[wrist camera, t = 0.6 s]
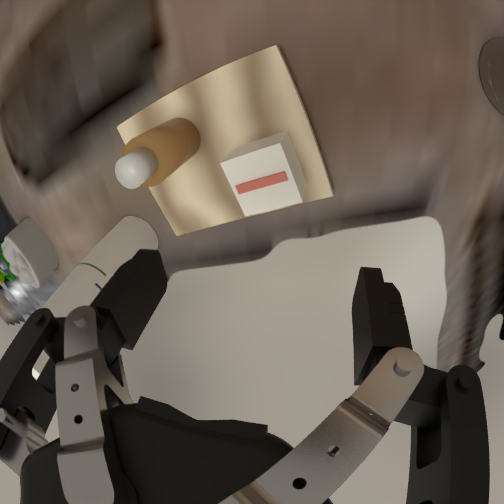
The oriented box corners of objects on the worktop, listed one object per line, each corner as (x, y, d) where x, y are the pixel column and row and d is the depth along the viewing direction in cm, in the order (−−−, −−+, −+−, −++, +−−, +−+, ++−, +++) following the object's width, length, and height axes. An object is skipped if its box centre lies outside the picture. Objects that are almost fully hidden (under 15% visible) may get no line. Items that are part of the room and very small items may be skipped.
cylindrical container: (139, 261, 44) (51, 391, 24) (111, 227, 41) (6, 351, 21) (167, 246, 40) (68, 397, 21) (136, 207, 37) (14, 349, 18)
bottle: (188, 110, 26) (134, 135, 19) (207, 150, 28) (163, 189, 21) (153, 128, 28) (97, 159, 21) (172, 165, 30) (124, 206, 23)
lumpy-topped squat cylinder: (30, 212, 44) (2, 237, 38) (65, 261, 50) (40, 288, 44) (19, 229, 49) (-5, 252, 43) (50, 271, 55) (29, 296, 48)
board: (278, 46, 21) (276, 45, 20) (333, 190, 29) (333, 196, 28) (123, 123, 30) (116, 126, 28) (181, 229, 38) (176, 236, 36)
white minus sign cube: (287, 130, 25) (279, 143, 22) (306, 182, 28) (302, 203, 24) (234, 148, 28) (218, 164, 24) (255, 195, 30) (244, 218, 27)
